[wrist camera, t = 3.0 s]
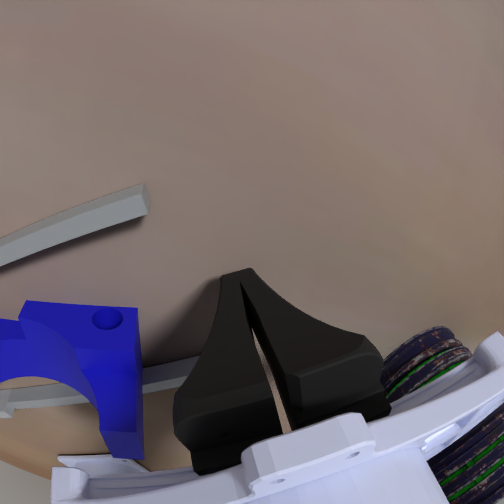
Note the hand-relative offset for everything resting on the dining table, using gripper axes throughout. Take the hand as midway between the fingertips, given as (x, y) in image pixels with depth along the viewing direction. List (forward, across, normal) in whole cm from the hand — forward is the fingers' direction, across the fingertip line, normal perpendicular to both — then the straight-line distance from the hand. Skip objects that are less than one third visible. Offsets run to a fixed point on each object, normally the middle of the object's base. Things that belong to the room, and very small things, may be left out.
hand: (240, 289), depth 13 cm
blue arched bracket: (+1, +11, 0) cm, 11 cm away
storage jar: (+1, -12, +15) cm, 20 cm away
